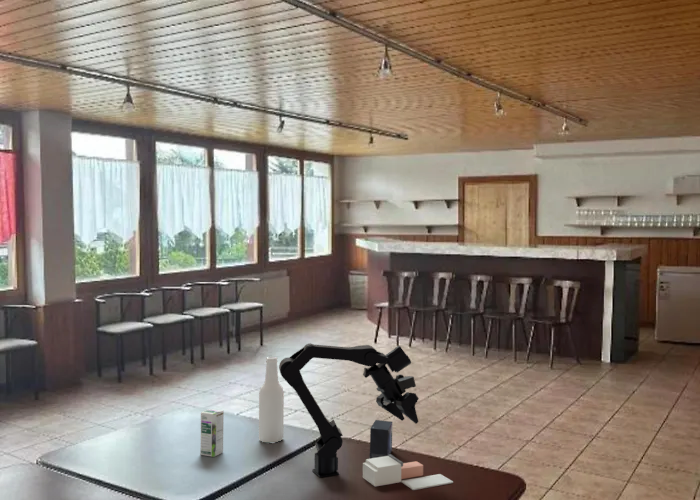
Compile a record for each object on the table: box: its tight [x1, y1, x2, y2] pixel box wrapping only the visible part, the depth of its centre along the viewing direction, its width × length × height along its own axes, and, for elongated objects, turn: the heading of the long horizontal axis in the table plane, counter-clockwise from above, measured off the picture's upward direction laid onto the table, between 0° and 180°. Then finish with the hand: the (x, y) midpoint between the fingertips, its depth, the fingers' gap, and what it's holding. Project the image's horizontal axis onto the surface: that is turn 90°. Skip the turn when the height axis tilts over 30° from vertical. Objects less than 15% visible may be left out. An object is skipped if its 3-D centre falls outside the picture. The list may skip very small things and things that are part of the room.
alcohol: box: [258, 356, 285, 443], centre depth 238 cm, size 9×9×30 cm
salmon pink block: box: [401, 460, 424, 480], centre depth 204 cm, size 13×4×4 cm, turn 115°
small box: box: [368, 419, 393, 459], centre depth 224 cm, size 11×6×10 cm, turn 168°
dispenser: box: [362, 453, 404, 487], centre depth 202 cm, size 10×8×6 cm
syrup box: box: [199, 408, 225, 458], centre depth 223 cm, size 6×6×14 cm
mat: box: [400, 473, 454, 491], centre depth 200 cm, size 14×7×1 cm, turn 115°
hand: (410, 421), depth 210 cm, fingers open, 9 cm apart
